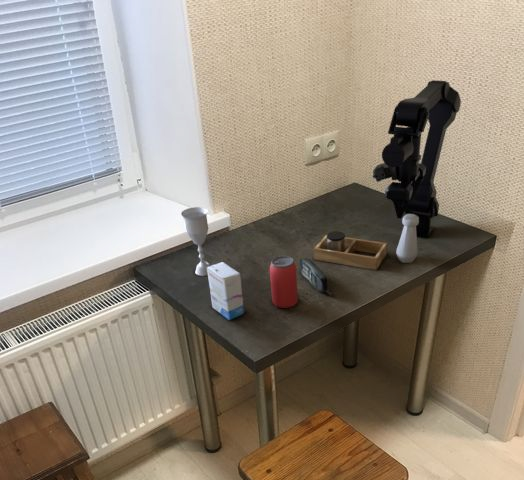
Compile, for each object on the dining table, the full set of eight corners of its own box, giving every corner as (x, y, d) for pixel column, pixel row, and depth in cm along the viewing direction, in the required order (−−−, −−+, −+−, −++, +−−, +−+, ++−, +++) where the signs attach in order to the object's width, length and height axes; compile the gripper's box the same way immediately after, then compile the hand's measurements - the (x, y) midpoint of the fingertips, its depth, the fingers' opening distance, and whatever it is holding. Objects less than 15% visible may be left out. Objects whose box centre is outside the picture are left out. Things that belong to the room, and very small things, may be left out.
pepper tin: (330, 249, 166) (330, 230, 162) (347, 252, 164) (347, 232, 160) (324, 257, 163) (324, 237, 159) (341, 260, 161) (341, 240, 157)
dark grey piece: (297, 258, 154) (323, 281, 142) (307, 255, 155) (333, 277, 143) (298, 274, 157) (323, 298, 145) (308, 271, 158) (334, 294, 146)
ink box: (245, 313, 143) (241, 272, 136) (229, 321, 141) (223, 280, 133) (227, 300, 149) (222, 260, 141) (211, 307, 146) (205, 267, 139)
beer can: (271, 296, 148) (267, 256, 141) (296, 294, 148) (294, 253, 141) (273, 310, 143) (270, 269, 136) (299, 307, 143) (297, 265, 136)
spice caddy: (326, 245, 169) (326, 234, 166) (386, 254, 161) (387, 243, 159) (314, 259, 162) (313, 248, 160) (376, 270, 155) (376, 258, 152)
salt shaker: (416, 265, 155) (422, 220, 147) (395, 264, 156) (399, 219, 148) (416, 255, 159) (422, 211, 152) (395, 254, 160) (400, 211, 153)
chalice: (220, 266, 163) (211, 208, 152) (211, 278, 158) (201, 218, 147) (197, 264, 166) (187, 206, 155) (187, 275, 161) (176, 216, 150)
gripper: (387, 139, 153) (384, 194, 163) (366, 164, 140) (364, 222, 150) (428, 142, 149) (423, 198, 158) (410, 167, 136) (406, 227, 145)
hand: (403, 211), depth 153 cm, fingers open, 9 cm apart
